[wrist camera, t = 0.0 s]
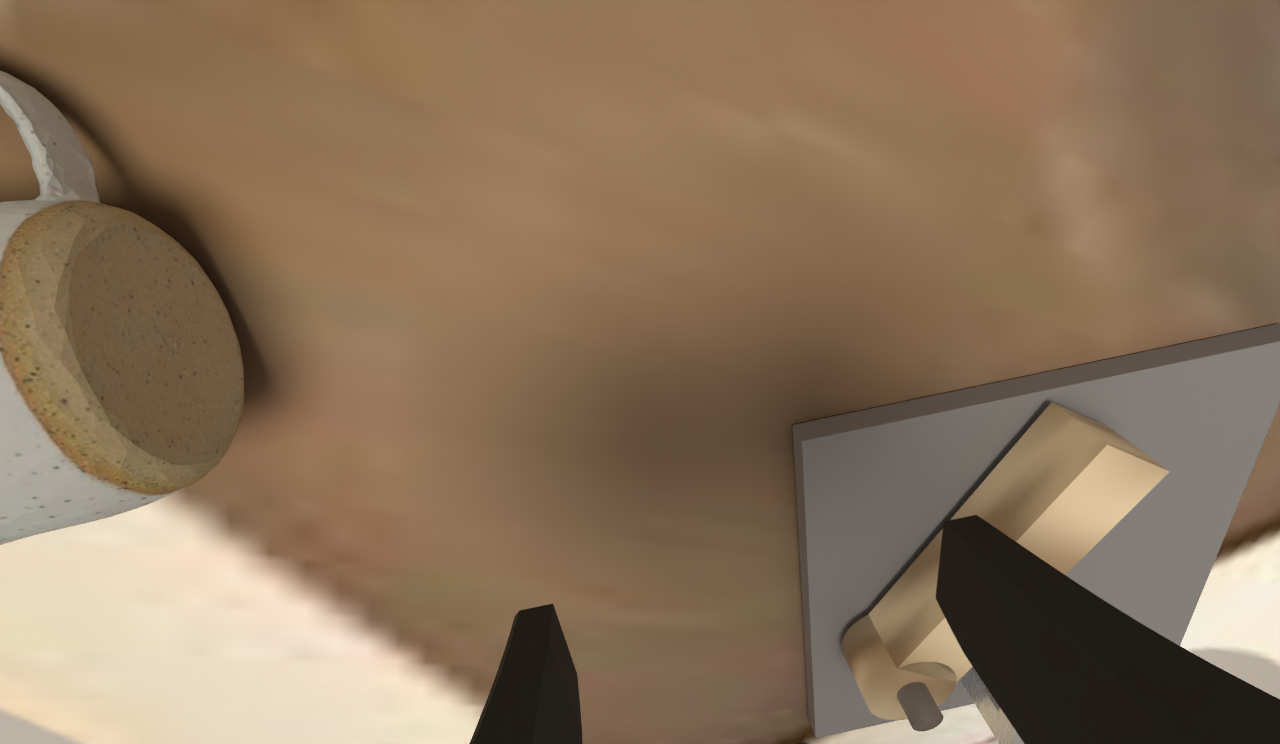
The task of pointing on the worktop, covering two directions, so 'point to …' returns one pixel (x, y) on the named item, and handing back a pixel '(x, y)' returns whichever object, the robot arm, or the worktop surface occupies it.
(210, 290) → the ceramic mug
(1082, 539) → the oak link
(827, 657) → the slate board
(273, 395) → the worktop surface
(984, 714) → the steel keeper
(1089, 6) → the worktop surface
